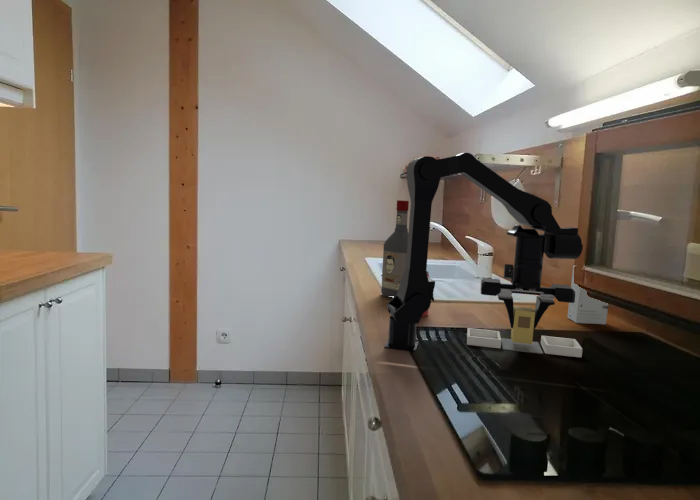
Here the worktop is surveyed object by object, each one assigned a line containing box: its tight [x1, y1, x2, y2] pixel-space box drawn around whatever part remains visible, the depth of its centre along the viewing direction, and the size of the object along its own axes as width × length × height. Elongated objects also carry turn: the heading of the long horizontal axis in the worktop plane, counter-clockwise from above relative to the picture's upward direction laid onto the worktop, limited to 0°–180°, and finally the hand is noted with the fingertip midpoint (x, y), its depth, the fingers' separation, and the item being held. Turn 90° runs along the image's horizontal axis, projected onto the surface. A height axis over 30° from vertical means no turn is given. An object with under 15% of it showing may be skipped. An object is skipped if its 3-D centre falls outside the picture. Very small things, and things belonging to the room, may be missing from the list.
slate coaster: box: [501, 337, 544, 355], centre depth 105 cm, size 8×8×1 cm
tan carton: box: [510, 305, 535, 344], centre depth 105 cm, size 4×4×7 cm
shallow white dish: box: [466, 327, 502, 349], centre depth 107 cm, size 7×7×2 cm
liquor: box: [380, 199, 410, 298], centre depth 151 cm, size 9×9×30 cm
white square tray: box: [540, 335, 583, 358], centre depth 103 cm, size 7×7×2 cm
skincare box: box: [567, 265, 609, 325], centre depth 130 cm, size 8×6×15 cm
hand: (522, 328), depth 105 cm, fingers closed on tan carton, 4 cm apart
